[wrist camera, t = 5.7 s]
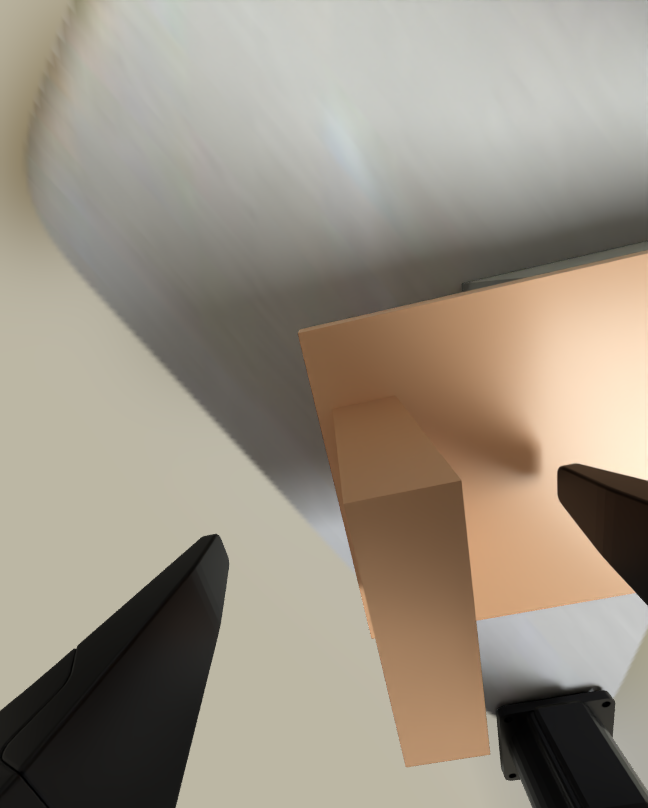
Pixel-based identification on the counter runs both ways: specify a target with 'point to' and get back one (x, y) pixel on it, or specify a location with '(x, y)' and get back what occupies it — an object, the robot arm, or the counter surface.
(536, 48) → the counter surface
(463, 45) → the counter surface
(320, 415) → the lid
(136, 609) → the robot arm
